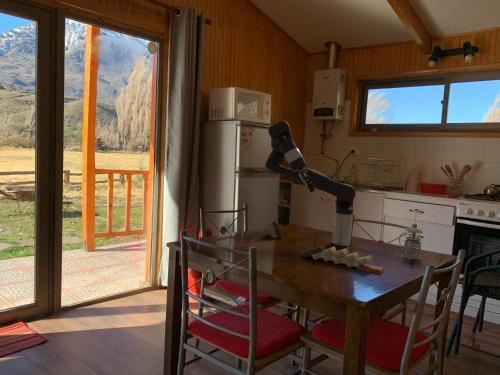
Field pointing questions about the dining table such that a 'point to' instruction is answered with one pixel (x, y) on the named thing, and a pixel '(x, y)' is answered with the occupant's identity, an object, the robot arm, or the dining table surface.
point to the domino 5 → (360, 261)
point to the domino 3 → (336, 255)
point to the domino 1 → (313, 251)
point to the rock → (274, 231)
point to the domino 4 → (346, 258)
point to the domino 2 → (324, 253)
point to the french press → (414, 243)
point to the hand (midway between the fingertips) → (312, 191)
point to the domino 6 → (370, 268)
